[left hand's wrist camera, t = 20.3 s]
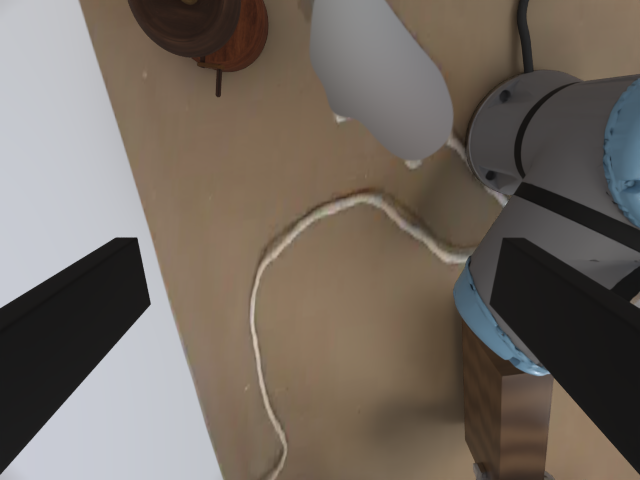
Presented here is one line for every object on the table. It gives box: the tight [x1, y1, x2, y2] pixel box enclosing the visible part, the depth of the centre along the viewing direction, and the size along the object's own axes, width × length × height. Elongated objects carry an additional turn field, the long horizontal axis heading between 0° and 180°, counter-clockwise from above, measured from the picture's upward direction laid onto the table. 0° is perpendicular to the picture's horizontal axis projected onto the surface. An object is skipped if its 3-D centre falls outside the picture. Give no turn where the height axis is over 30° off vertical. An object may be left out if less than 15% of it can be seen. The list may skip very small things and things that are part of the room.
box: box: [462, 318, 554, 480], centre depth 49 cm, size 26×6×12 cm, turn 10°
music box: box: [128, 0, 268, 97], centre depth 31 cm, size 15×11×20 cm
